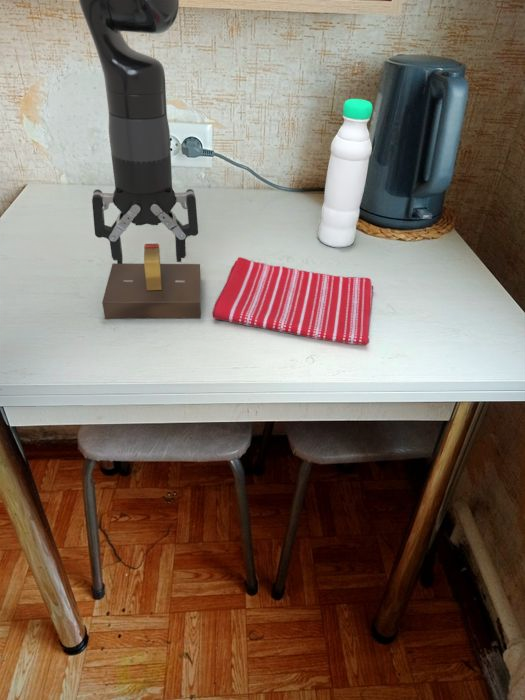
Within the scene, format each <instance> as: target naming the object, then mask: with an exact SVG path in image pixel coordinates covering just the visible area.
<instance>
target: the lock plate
mask: <svg viewBox="0 0 525 700" xmlns="http://www.w3.org/2000/svg"><path fill="white" fill-rule="evenodd" d="M201 270H202V269H201V263H161V278H162V290H147V287H146V277H145V267H144V263H122V264H117V262H116V263H112V264H111V267H110V272H109V275H108V278H107V284H106V286H105V290H104V294H103V296H102V297H103V298H102V301H101V304H102V309H103V315H104V319H105V320H138V319H139V320H146V319H147V320H149V319H150V320H151V319H153V320H154V319H155V320H156V319H159V320H160V319H161V320H162V319H163V320H165V319H170V320H171V319H172V320H173V319H201V314H202V313H201V312H202V311H201V310H202V309H201V305H202V303H201V297H202V296H201V294H202V293H201V292H202V291H201V290H202V287H201V286H202V277H201Z"/></svg>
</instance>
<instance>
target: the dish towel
mask: <svg viewBox="0 0 525 700" xmlns="http://www.w3.org/2000/svg"><path fill="white" fill-rule="evenodd" d="M225 282H226V283H225V284H224V287H223V288H222V290H221V291H220V294H219V296H218V297H217V299H216V301H215V303H214V305H213V309H212V313H211V315H212V318H214V320H218V321H225V322H228V323H229V322H230V323H234V324H239V325H244V326H248V327H254V328H260V329H264V330H270V331H275V332H278V333H279V332H280V333H285V334H292V335H295V336H301V337H306V338H312V339H317V340H323V341H329V342H335V343H343V344H349V345H359V346H362V345H363V346H367V345H368V344H369V343H370V338H369V334H370V326H371V324H370V323H371V316H372V310H373V309H372V306H373V298H374V297H373V296H374V285H373V283H372V279H371V278H369V277H359V276H346V277H345V276H343V275H333V274H327V273H319V272H312V271H307V270H303V269H302V270H301V269H298V268H291V267H285V266H282V265H271V264H268V263H263V262H257V261H254V260H249V259H247V258H244V257H240V256H238V257H237V259H236V260H235V262H234V263H233V265H232V267H231V269H230V272H229V274H228V276H227V280H226V281H225Z"/></svg>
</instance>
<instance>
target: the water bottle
mask: <svg viewBox="0 0 525 700" xmlns="http://www.w3.org/2000/svg"><path fill="white" fill-rule="evenodd" d="M343 103H344V104H343V108H342V118H343V122H342V123H343V124H342V125H341V126H340V128H339V129H338V130H337V133H336V134H335V136H334V137H333V139H332V141H331V143H330V156H329V160H328V166H327V170H326V176H325V177H326V178H325V184H324V185H325V186H324V195H323V203H322V206H321V212H320V222H319V227H318V231H317V232H318V233H317V238H318V239H319V241H320V242H321V243H322V244H324V245H326V246H328V247H332V248H338V249H339V248H346V247H349V246H351V245H352V244H353V243H354V241H355V238H356V233H357V225H358V221H359V217H360V211H361V210H360V206H361V203H362V201H363V195H364V191H365V187H366V180H367V175H368V171H369V170H368V169H369V162H370V161H369V160H370V157H371V155H372V151H373V144H372V140H371V138H370V131H369V128H368V122H369V121H370V119H371V117H372V114H373V103H372V102H370V101H369V100H366V99H362V98H349V99H347V100H345V101H344V102H343Z"/></svg>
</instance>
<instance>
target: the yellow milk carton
mask: <svg viewBox="0 0 525 700" xmlns="http://www.w3.org/2000/svg"><path fill="white" fill-rule="evenodd" d="M143 264H144V267H145V277H146V287H147V290H162V278H161V264H162V263H161V249H160V244H159V243H154V242H153V243H145V244H144V246H143Z"/></svg>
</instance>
